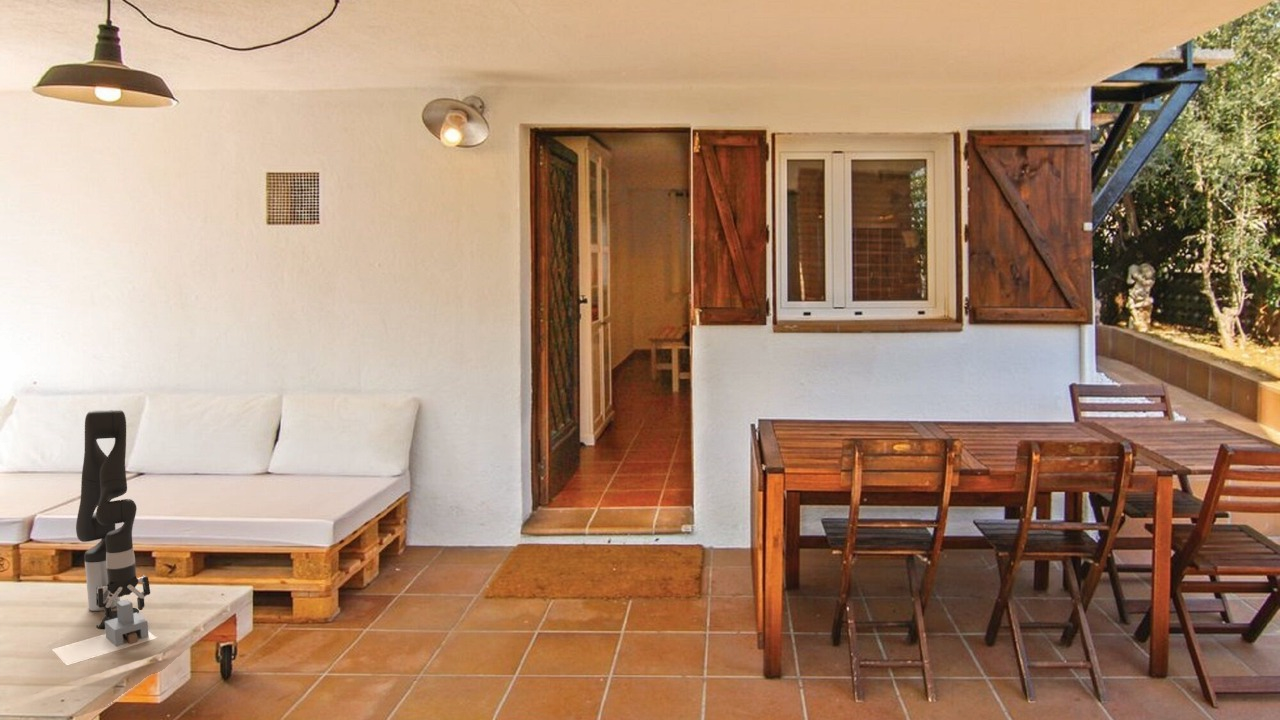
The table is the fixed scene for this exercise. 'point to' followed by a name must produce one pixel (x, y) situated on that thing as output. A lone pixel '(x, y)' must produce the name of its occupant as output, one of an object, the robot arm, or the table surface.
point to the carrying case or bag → (114, 615)
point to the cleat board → (96, 647)
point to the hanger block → (125, 623)
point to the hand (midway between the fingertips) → (125, 613)
